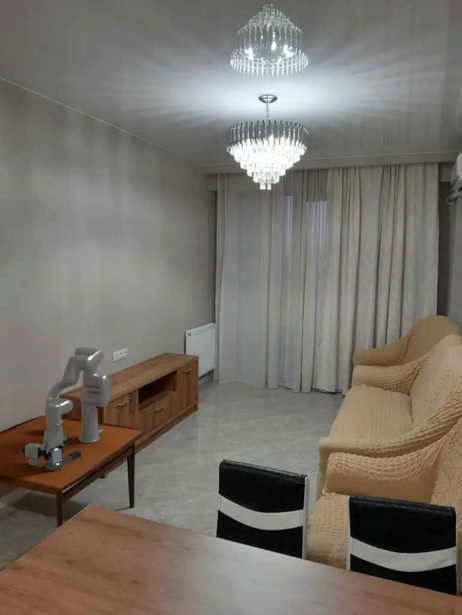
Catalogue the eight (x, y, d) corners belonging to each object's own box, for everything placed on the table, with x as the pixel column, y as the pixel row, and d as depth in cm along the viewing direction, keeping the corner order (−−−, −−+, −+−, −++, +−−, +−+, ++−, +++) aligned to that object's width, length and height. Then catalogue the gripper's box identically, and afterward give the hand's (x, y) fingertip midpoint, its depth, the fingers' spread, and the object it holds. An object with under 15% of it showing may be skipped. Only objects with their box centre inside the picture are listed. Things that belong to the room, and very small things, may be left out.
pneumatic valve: (41, 467, 251) (41, 446, 250) (21, 464, 253) (21, 443, 252) (47, 463, 256) (47, 442, 255) (28, 460, 259) (28, 439, 257)
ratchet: (73, 453, 269) (73, 442, 269) (84, 457, 265) (84, 445, 264) (41, 468, 250) (41, 456, 249) (52, 473, 246) (52, 460, 245)
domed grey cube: (54, 457, 255) (53, 444, 254) (62, 460, 252) (61, 447, 251) (45, 462, 250) (44, 449, 248) (53, 465, 247) (52, 452, 246)
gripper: (61, 419, 258) (61, 449, 260) (35, 429, 243) (35, 460, 245) (71, 422, 255) (71, 452, 257) (45, 432, 239) (45, 464, 241)
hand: (53, 456), depth 251 cm, fingers open, 9 cm apart
